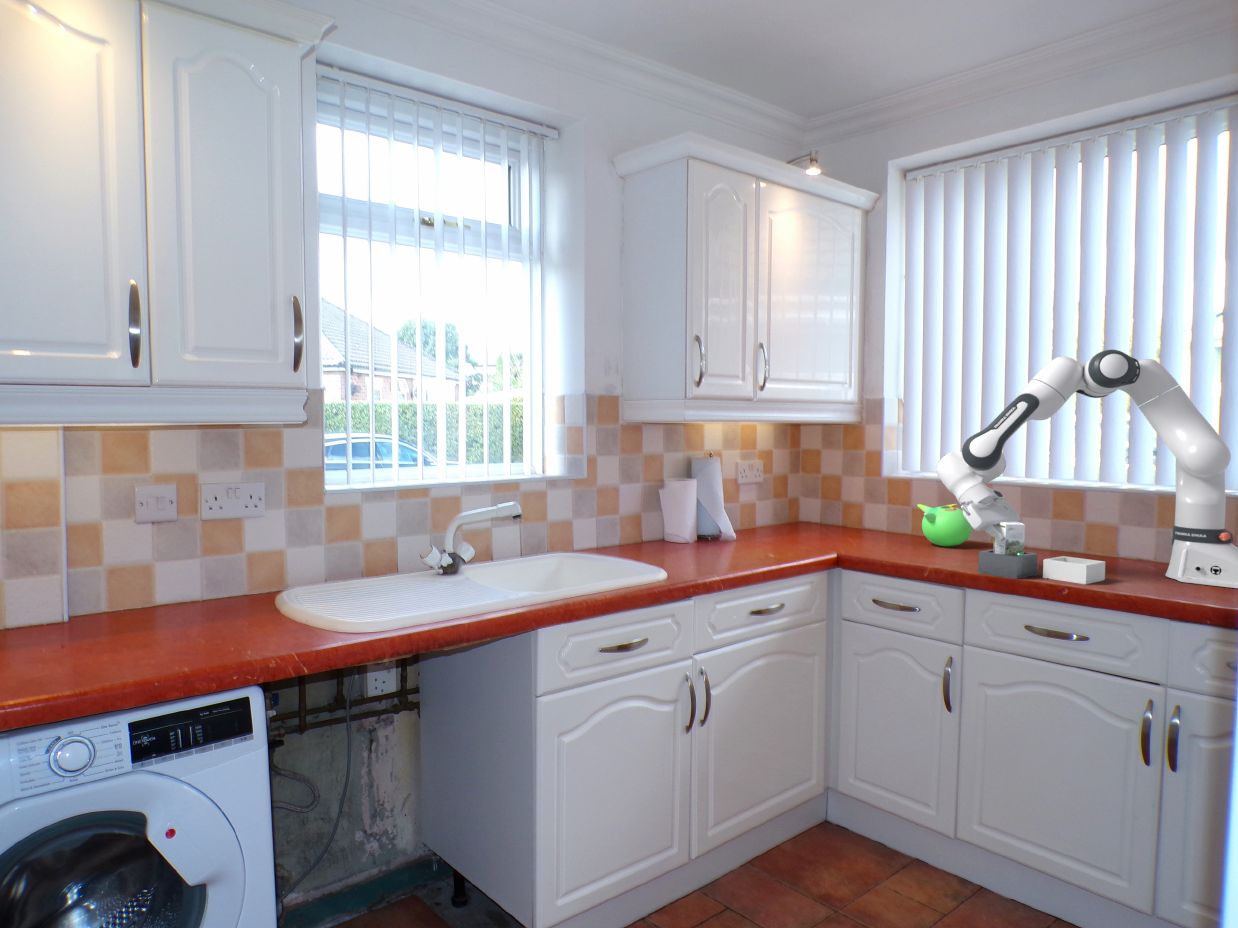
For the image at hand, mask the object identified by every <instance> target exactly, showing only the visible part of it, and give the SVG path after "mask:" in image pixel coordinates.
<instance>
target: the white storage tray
mask: <svg viewBox="0 0 1238 928" xmlns="http://www.w3.org/2000/svg"><path fill="white" fill-rule="evenodd" d="M1042 561H1043V562H1042V563H1043V566H1042V578H1043V579H1047V578H1049V580H1056V581H1060V582H1061V581H1062V582H1069V583H1075V584H1080V585H1090V584H1093V583H1098V582H1103V581H1105V579H1106V561H1104V560H1103V561H1102V560H1096V559H1088V558H1081V557H1073V556H1066V555H1061V556H1056V557H1050V558H1044V559H1043V560H1042Z"/></svg>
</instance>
